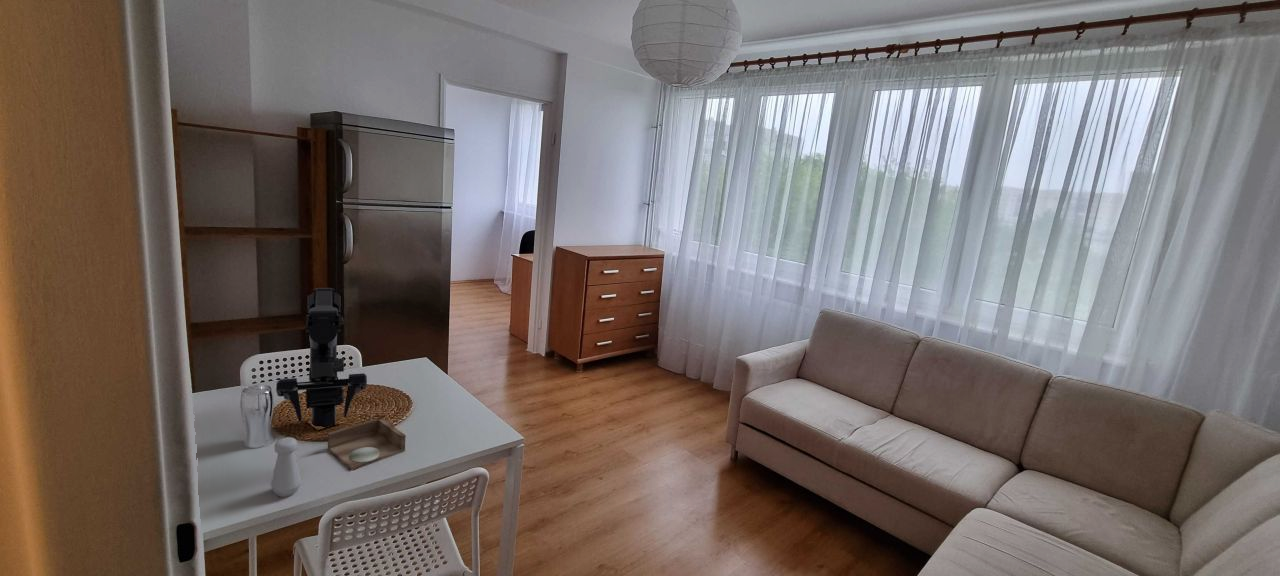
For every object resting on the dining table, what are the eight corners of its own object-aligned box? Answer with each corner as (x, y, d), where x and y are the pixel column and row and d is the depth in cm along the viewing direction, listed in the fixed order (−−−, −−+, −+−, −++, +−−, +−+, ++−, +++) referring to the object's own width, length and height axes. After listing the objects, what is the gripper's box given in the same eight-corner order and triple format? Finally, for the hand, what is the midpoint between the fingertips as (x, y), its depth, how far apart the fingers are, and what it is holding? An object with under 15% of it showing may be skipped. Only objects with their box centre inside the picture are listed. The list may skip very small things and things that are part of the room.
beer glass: (280, 440, 140) (279, 388, 136) (254, 452, 133) (252, 397, 130) (262, 433, 142) (260, 381, 138) (235, 444, 135) (232, 390, 132)
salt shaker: (286, 502, 117) (285, 449, 114) (264, 496, 118) (263, 443, 115) (307, 487, 123) (307, 437, 120) (286, 481, 124) (286, 431, 121)
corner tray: (327, 449, 138) (327, 432, 137) (380, 432, 150) (380, 417, 149) (351, 470, 131) (351, 453, 130) (404, 451, 142) (405, 435, 141)
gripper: (275, 349, 120) (273, 416, 115) (367, 344, 130) (368, 407, 124) (279, 363, 129) (276, 427, 123) (364, 358, 139) (366, 417, 133)
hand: (323, 419), depth 126 cm, fingers open, 9 cm apart
